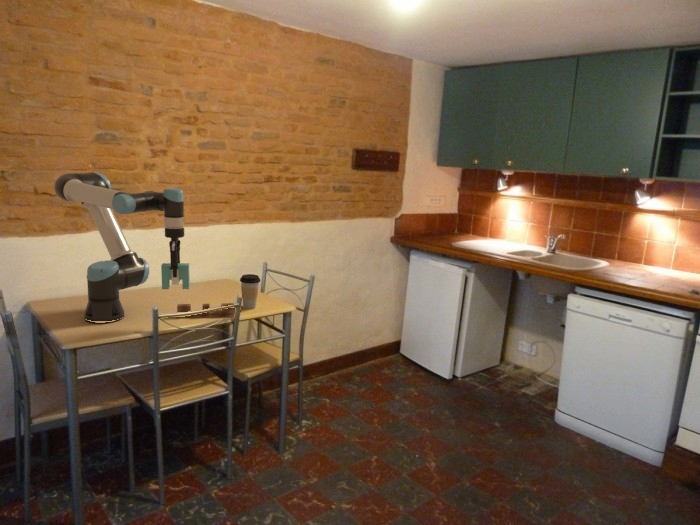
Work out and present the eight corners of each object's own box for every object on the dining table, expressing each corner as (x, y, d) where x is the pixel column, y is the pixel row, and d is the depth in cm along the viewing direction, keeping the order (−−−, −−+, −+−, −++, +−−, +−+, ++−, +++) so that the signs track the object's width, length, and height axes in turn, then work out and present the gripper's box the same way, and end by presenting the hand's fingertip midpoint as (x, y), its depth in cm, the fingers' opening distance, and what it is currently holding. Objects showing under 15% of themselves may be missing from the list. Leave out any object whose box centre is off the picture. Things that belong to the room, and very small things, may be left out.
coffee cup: (243, 311, 234) (244, 279, 231) (236, 305, 242) (236, 274, 238) (262, 308, 239) (263, 278, 236) (254, 302, 247) (255, 273, 244)
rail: (177, 318, 220) (177, 307, 218) (177, 313, 225) (177, 303, 224) (234, 316, 226) (234, 306, 225) (233, 312, 231) (233, 302, 230)
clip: (162, 289, 209) (161, 265, 206) (163, 286, 212) (162, 263, 210) (188, 289, 211) (188, 265, 209) (189, 286, 215) (189, 263, 213)
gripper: (182, 230, 199) (183, 288, 204) (186, 224, 215) (187, 277, 220) (161, 230, 197) (163, 288, 202) (167, 223, 213) (169, 277, 219)
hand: (176, 282), depth 211 cm, fingers closed on clip, 4 cm apart
